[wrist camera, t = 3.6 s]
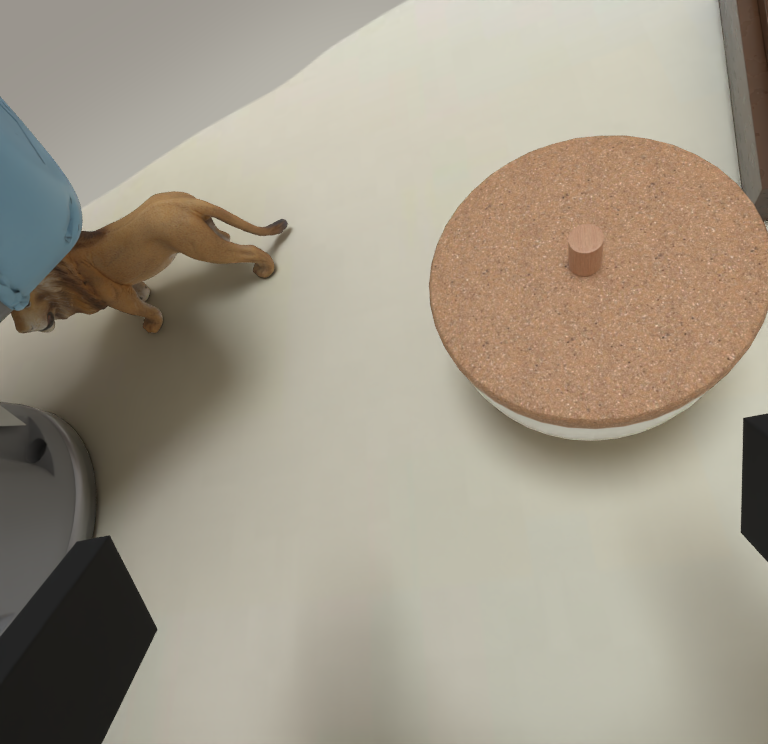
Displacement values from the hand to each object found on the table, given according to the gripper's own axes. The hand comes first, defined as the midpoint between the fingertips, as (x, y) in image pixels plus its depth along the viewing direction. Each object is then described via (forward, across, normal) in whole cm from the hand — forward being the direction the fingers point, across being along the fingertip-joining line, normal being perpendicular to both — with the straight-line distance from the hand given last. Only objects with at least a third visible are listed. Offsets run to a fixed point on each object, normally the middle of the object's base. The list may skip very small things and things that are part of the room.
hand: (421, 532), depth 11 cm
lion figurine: (+24, -13, +2) cm, 27 cm away
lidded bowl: (+14, +8, -3) cm, 17 cm away
